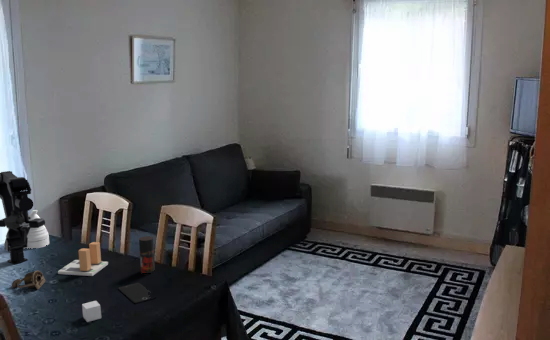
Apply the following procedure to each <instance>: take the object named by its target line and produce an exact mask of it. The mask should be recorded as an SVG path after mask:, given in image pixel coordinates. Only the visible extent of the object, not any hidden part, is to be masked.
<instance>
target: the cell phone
mask: <svg viewBox="0 0 550 340" xmlns="http://www.w3.org/2000/svg"><path fill="white" fill-rule="evenodd" d="M147 289H148V288H147ZM147 289H146V286H144V285H143V284H141V283H140V282H135V283H131V284H127V285H122V286H118V290H119V291H120V292H121V293H122V294H123V295H126V298H127V299H129V300H130V301H131V302H132V303H135V305H136V304H137V303H138V304H140V302H141V303H143V302H142V301H145V302H147V301H146V300H148V299H150V298H151V297H149V296H150V295H148V292H150V293H151V292H152V291H150V290H149V289H148V290H147ZM138 304H137V305H138Z"/></svg>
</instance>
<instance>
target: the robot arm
mask: <svg viewBox="0 0 550 340" xmlns="http://www.w3.org/2000/svg"><path fill="white" fill-rule="evenodd" d="M31 194H32V187H31V185H30V182H29V181H28V179H26V178H25V176H19V177H18V176H17V175H15V174H14V173H13V171H10V170H8V171H1V172H0V200H1V203H2V208H3V211H4V216H5V217H3V218H2V219H0V228H5V227H6V229H7V233H6V234H5V239H4V244H3V245H4V249H5V251H7V252H9V257H10V258H9V259H7V261H8V262H7V263H10V264H14V265H17V264H20V263H23V262H26V261H28V258H25V253H24V252H25V251H24V249H25V248H26V247H27V241H28V237H27V235H28V233H29V230H30V228H39V227H41V226H43V225H44V226H45V225H46V220H45V219H44V218H41V217H40V218H36V219H33V220H31V221H30V220H29V219H31V218H30V217H28V215H29V211H32V210H31V209H33V207H34V201H33V200H32V198H30V197H29V196H28V195H31ZM24 222H25V223H24Z"/></svg>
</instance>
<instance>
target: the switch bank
mask: <svg viewBox="0 0 550 340" xmlns="http://www.w3.org/2000/svg"><path fill="white" fill-rule="evenodd" d="M108 265H109V261H103V260H101V262H100V263H98V264H91V269H90V270H88V271H80V264H79V259H74V260H73V261H71V262H70V263H68V264H67V265H64V267H62V268H61V269H59V270H58V271H57V274H58V275H67V276H68V275H69V276H71V275H72V276H84V277H85V276H88V277H93V276H94V275H96V274H98V273H99V272H100V271H101V270H102V269H104V268H106V266H108Z"/></svg>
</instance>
